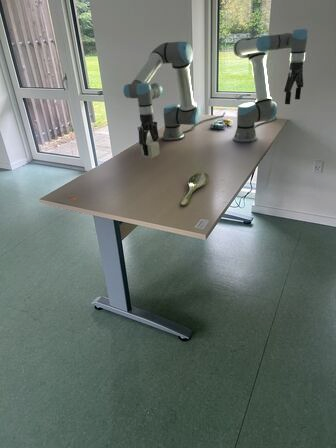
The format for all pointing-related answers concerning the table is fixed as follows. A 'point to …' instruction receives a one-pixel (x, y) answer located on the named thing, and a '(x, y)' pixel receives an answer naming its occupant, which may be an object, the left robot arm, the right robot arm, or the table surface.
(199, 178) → the spoon
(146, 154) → the left robot arm
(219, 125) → the spray gun
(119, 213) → the table surface
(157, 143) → the block
